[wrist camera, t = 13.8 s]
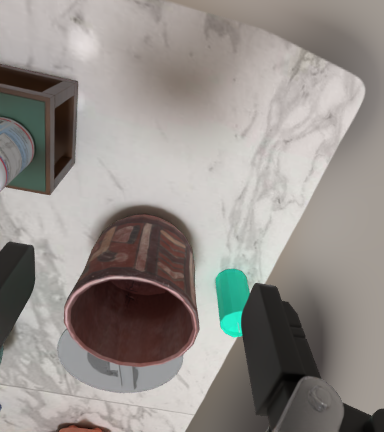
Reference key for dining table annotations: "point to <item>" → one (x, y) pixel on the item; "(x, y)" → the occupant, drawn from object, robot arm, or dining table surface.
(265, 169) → the dining table surface
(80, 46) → the dining table surface
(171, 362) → the plate
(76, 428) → the teapot
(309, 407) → the robot arm
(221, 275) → the candle
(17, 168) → the pill bottle
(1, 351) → the flower pot
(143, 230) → the pottery
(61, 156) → the stand
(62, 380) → the dining table surface
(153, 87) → the dining table surface
